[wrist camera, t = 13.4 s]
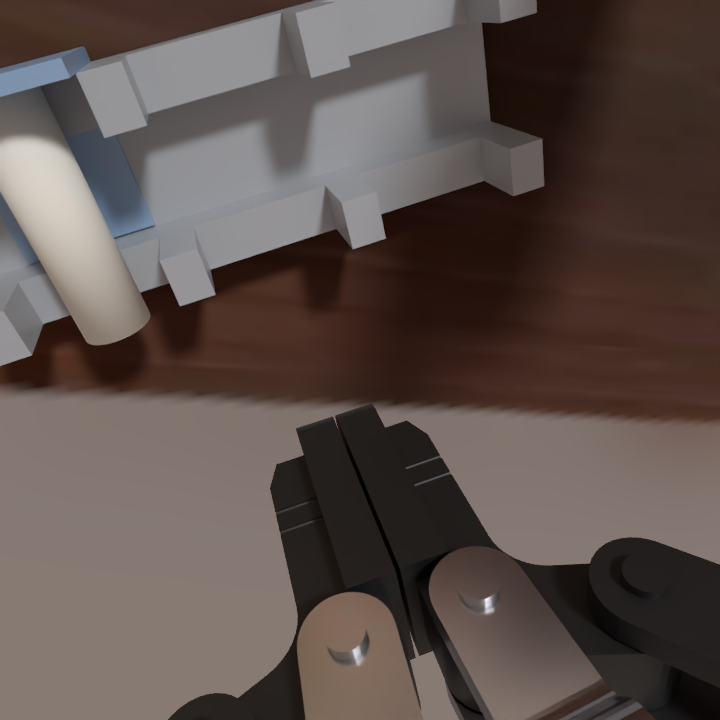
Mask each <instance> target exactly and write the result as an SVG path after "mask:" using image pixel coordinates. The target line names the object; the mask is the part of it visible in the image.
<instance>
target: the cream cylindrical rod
mask: <svg viewBox="0 0 720 720" xmlns="http://www.w3.org/2000/svg"><path fill="white" fill-rule="evenodd" d="M0 192H1V194H2V196H3V197H4V199H5V201H6V203H7V204H8V206H9V208H10V210H11V211H12V213H13V215H14V217H15V218H16V220H17V222H18V224H19V225H20V227H21V229H22V231H23V232H24V234H25V236H26V238H27V239H28V241H29V243H30V245H31V246H32V248H33V250H34V252H35V253H36V255H37V257H38V259H39V260H40V262H41V264H42V265H43V267H44V269H45V271H46V272H47V274H48V276H49V278H50V279H51V281H52V283H53V285H54V286H55V288H56V290H57V292H58V293H59V295H60V297H61V299H62V300H63V302H64V304H65V306H66V307H67V309H68V311H69V313H70V314H71V316H72V318H73V320H74V321H75V323H76V325H77V327H78V328H79V330H80V332H81V333H82V335H83V337H84V339H85V340H86V342H87V343H88V344H91V345H105V344H110V343H114V342H117V341H119V340H122V339H124V338H127V337H129V336H131V335H132V334H134V333H136V332H137V331H139V330H140V329H141V328H142V327H144V326H145V325H146V324H147V322H148V321H149V319H150V312H149V310H148V308H147V306H146V304H145V302H144V300H143V298H142V296H141V293H140V291H139V289H138V287H137V285H136V283H135V281H134V279H133V277H132V275H131V273H130V271H129V269H128V267H127V265H126V263H125V260H124V258H123V256H122V254H121V252H120V250H119V248H118V246H117V244H116V242H115V240H114V238H113V236H112V234H111V232H110V230H109V227H108V225H107V223H106V221H105V219H104V217H103V215H102V213H101V211H100V209H99V207H98V205H97V203H96V201H95V199H94V197H93V194H92V192H91V190H90V188H89V186H88V184H87V182H86V180H85V178H84V176H83V174H82V172H81V170H80V168H79V166H78V163H77V161H76V159H75V157H74V155H73V153H72V151H71V149H70V147H69V145H68V143H67V141H66V139H65V137H64V135H63V133H62V130H61V128H60V126H59V124H58V122H57V120H56V118H55V116H54V114H53V112H52V110H51V108H50V106H49V104H48V102H47V100H46V97H45V95H44V93H43V91H42V89H41V87H40V86H38V87H35V88H31V89H27V90H24V91H20V92H16V93H13V94H9V95H6V96H2V97H0Z"/></svg>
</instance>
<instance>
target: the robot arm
mask: <svg viewBox="0 0 720 720" xmlns="http://www.w3.org/2000/svg"><path fill="white" fill-rule="evenodd" d="M335 418H336V422H337V426H338V428H337V426H336V423H335V421H334V419H333V417H330V418H327V419H324V420H321V421H318V422H315V423H312V424H309V425H305V426H303V427H300V428H296V430H297V434H298V437H299V440H300V443H301V446H302V450H303V453H304V455H303V456H301V457H298V458H295V459H292V460H289V461H286V462H283V463H280V464H277V465H276V469H275V472H274V476H273V480H272V483H271V487H270V490H271V494H272V499H273V503H274V507H275V512H276V515H277V516H276V517H277V521H278V525H279V530H280V533H281V539H282V543H283V548H284V552H285V557H286V561H287V566H288V570H289V575H290V579H291V584H292V588H293V593H294V597H295V602H296V606H297V613H298V625H297V630H296V634H295V637H294V640H293V643H292V645H291V647H290V649H289V651H288V652H287V654H286V656H285V657H284V658H283V660H282V661H281V662H280V663H279V664H278V665H277V667H276V668H275V669H274V670H273V671H271V672H270V673H269V674H268V675H267V676H265V677H264V678H263V679H262V680H261V681H259V682H258V683H257V684H255V685H254V686H253V687H251V688H250V689H249V690H248V691H246V692H245V693H244V694H243V695H242V696H240V697H239V698H236V697H234V696H232V695H227V694H221V693H220V694H219V693H214V694H208V695H204V696H201V697H198V698H196V699H194V700H192V701H190V702H188V703H187V704H185V705H184V706H182V707H181V708H180V709H178V710H177V711H176V712H175V713H174V714H173V715H172V716H171V717H170V718H169V719H168V720H423V717H422V714H421V706H420V700H419V696H418V692H417V687H416V683H415V679H414V675H413V671H412V667H411V663H410V660H411V659H414V658H415V653H414V649H413V644H412V640H411V636H410V632H411V635H412V638H413V641H414V643H415V646H416V648H417V651H418V653H419V656H420V655H423V654H426V653H428V652H431V651H433V652H434V654H435V656H436V659H437V661H438V664H439V666H440V668H441V671H442V673H443V676H444V678H445V683H446V688H447V692H448V697H449V700H450V702H451V704H452V706H453V708H454V710H455V712H456V714H457V716H458V718H459V720H720V565H719V564H716V563H714V562H711V561H708V560H705V559H703V558H700V557H697V556H694V555H692V554H689V553H686V552H683V551H681V550H678V549H675V548H672V547H669V546H667V545H664V544H661V543H658V542H655V541H652V540H649V539H643V538H621V539H617V540H613V541H611V542H608V543H606V544H605V545H603V546H602V547H601V548H599V549H598V550H597V551H596V553H595V554H594V556H593V557H592V559H591V562H590V564H575V565H574V564H573V565H553V566H544V565H535V564H530V563H526V562H522V561H520V560H517V559H515V558H513V557H511V556H509V555H508V554H506V553H505V552H503V551H502V550H501V549H499V548H498V547H497V546H496V545H495V544H494V543H493V541H492V540H491V539H490V537H489V536H488V534H487V532H486V531H485V529H484V527H483V526H482V524H481V522H480V521H479V519H478V517H477V516H476V514H475V512H474V511H473V509H472V508H471V506H470V504H469V503H468V501H467V499H466V497H465V496H464V494H463V493H462V491H461V489H460V488H459V486H458V484H457V483H456V481H455V479H454V478H453V476H452V475H451V474H450V472H449V469H448V468H447V466H446V464H445V463H444V461H443V459H442V458H440V455H439V453H438V451H437V449H436V448H435V446H434V444H433V443H432V441H431V439H430V438H429V436H428V435H427V434H426V433H425V432H423V431H422V430H420V429H419V428H417V427H416V426H414V425H412V424H411V423H410V422H408V421H404V422H401V423H399V424H396V425H393V426H389V427H386V428H385V427H384V425H383V423H382V421H381V419H380V417H379V415H378V413H377V411H376V409H375V408H374V406H373V405H372V404H369V405H366V406H363V407H360V408H357V409H354V410H351V411H348V412H345V413H342V414H338V415H336V416H335Z"/></svg>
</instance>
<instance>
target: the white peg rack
mask: <svg viewBox="0 0 720 720" xmlns="http://www.w3.org/2000/svg"><path fill="white" fill-rule="evenodd" d="M534 13H537V1H536V0H315V1H311V2H307V3H304V4H300V5H297V6H293V7H289V8H286V9H282V10H278V11H275V12H271V13H267V14H264V15H260V16H256V17H253V18H249V19H245V20H242V21H238V22H234V23H231V24H227V25H223V26H220V27H216V28H212V29H209V30H205V31H201V32H198V33H194V34H190V35H187V36H183V37H179V38H176V39H172V40H168V41H165V42H161V43H157V44H154V45H150V46H147V47H143V48H139V49H136V50H132V51H128V52H125V53H121V54H117V55H114V56H110V57H106V58H103V59H99V60H95V61H92V62H91V61H90V59H89V56H88V54H87V52H86V49H85V47H84V46H83V47H79V48H75V49H71V50H68V51H64V52H60V53H57V54H53V55H49V56H45V57H42V58H38V59H34V60H31V61H27V62H23V63H20V64H16V65H12V66H8V67H5V68H1V69H0V97H2V96H6V95H9V94H13V93H16V92H20V91H24V90H27V89H31V88H35V87H38V86H40V87H41V89H42V91H43V93H44V95H45V97H46V100H47V102H48V104H49V106H50V108H51V110H52V112H53V114H54V116H55V118H56V120H57V122H58V124H59V126H60V128H61V130H62V133H63V135H64V137H65V139H66V141H67V143H68V145H69V147H70V149H71V151H72V153H73V155H74V157H75V159H76V161H77V163H78V166H79V168H80V170H81V172H82V174H83V176H84V178H85V180H86V182H87V184H88V186H89V188H90V190H91V192H92V194H93V197H94V199H95V201H96V203H97V205H98V207H99V209H100V211H101V213H102V215H103V217H104V219H105V221H106V223H107V225H108V227H109V230H110V232H111V234H112V236H113V238H114V240H115V242H116V244H117V246H118V248H119V250H120V252H121V254H122V256H123V258H124V260H125V263H126V265H127V267H128V269H129V271H130V273H131V275H132V277H133V279H134V281H135V283H136V285H137V287H138V289H139V291H140V292H143V291H146V290H149V289H152V288H156V287H159V286H162V285H165V284H168V283H170V285H171V287H172V290H173V292H174V294H175V296H176V299H177V301H178V303H179V305H180V306H183V305H186V304H189V303H192V302H195V301H198V300H201V299H204V298H207V297H210V296H213V295H216V294H215V289H214V284H213V279H212V274H211V269H214V268H217V267H220V266H223V265H226V264H229V263H233V262H236V261H239V260H242V259H245V258H248V257H251V256H254V255H257V254H260V253H263V252H266V251H270V250H273V249H276V248H279V247H282V246H285V245H288V244H291V243H294V242H297V241H300V240H303V239H306V238H310V237H313V236H316V235H319V234H322V233H325V232H328V231H331V230H334V229H337V230H338V232H339V233H340V234H341V235H342V236H343V238H344V239H345V240H346V241H347V243H348V244H349V245H350V246H351V248H352V249H355V248H358V247H362V246H365V245H368V244H371V243H374V242H377V241H380V240H383V239H386V236H385V232H384V227H383V222H382V217H381V214H383V213H387V212H390V211H393V210H396V209H399V208H402V207H405V206H408V205H411V204H414V203H417V202H420V201H424V200H427V199H430V198H433V197H436V196H439V195H442V194H445V193H448V192H451V191H454V190H457V189H461V188H464V187H467V186H470V185H473V184H476V183H479V182H482V181H486V182H487V183H489V184H491V185H493V186H495V187H497V188H499V189H501V190H503V191H504V192H506V193H508V194H510V195H512V196H516V195H519V194H522V193H525V192H528V191H531V190H534V189H537V188H540V187H543V186H544V168H543V144H542V138H539V137H536V136H533V135H530V134H527V133H524V132H521V131H518V130H515V129H512V128H509V127H506V126H503V125H500V124H497V123H494V122H492V121H491V120H490V109H489V98H488V86H487V75H486V64H485V53H484V41H483V30H482V22H485V23H503V22H507V21H510V20H514V19H517V18H520V17H524V16H527V15H531V14H534ZM69 315H71V314H70V313H69V311H68V309H67V307H66V306H65V304H64V302H63V300H62V299H61V297H60V295H59V293H58V292H57V290H56V288H55V286H54V285H53V283H52V281H51V279H50V278H49V276H48V274H47V272H46V271H45V269H44V267H43V265H42V264H41V262H40V260H39V259H38V257H37V255H36V253H35V252H34V250H33V248H32V246H31V245H30V243H29V241H28V239H27V238H26V236H25V234H24V232H23V231H22V229H21V227H20V225H19V224H18V222H17V220H16V218H15V217H14V215H13V213H12V211H11V210H10V208H9V206H8V204H7V203H6V201H5V199H4V197H3V196H2V194H1V192H0V366H1V365H4V364H7V363H10V362H13V361H16V360H19V359H22V358H26V357H29V356H32V354H33V351H34V348H35V346H36V343H37V340H38V338H39V335H40V332H41V329H42V327H43V324H45V323H48V322H51V321H54V320H57V319H60V318H63V317H66V316H69Z"/></svg>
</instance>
